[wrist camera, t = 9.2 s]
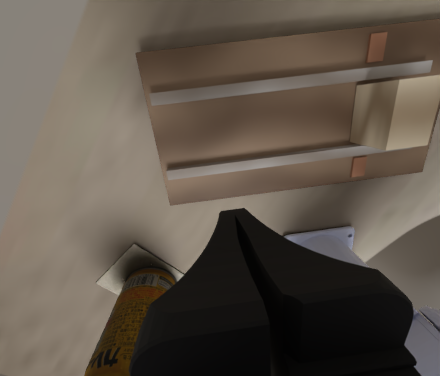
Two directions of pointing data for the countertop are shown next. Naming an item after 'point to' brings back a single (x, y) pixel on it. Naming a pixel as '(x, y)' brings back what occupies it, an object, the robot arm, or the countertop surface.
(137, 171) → the countertop surface
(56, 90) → the countertop surface
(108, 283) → the condiment
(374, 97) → the fader tab
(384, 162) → the console
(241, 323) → the robot arm
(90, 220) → the countertop surface
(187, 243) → the countertop surface
